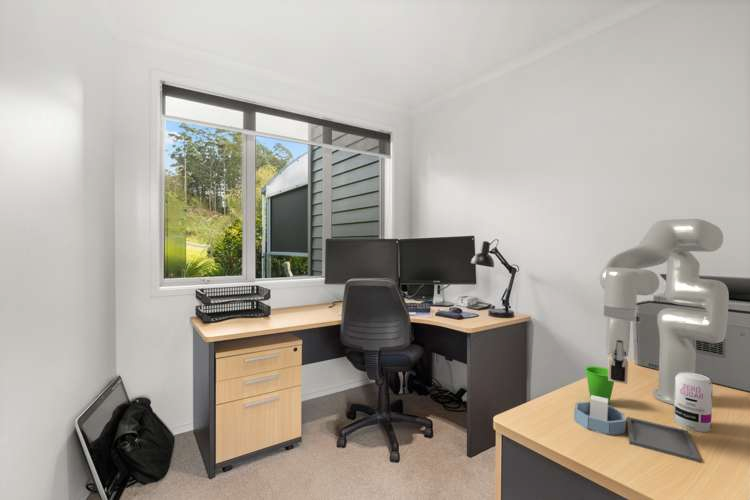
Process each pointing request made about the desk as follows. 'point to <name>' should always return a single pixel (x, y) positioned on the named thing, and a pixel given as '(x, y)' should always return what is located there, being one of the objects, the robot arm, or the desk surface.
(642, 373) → the desk surface
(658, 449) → the tray
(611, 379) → the beige rectangular block
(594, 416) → the white block
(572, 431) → the desk surface
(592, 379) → the cup
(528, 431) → the desk surface
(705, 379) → the supplement can
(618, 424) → the bowl
